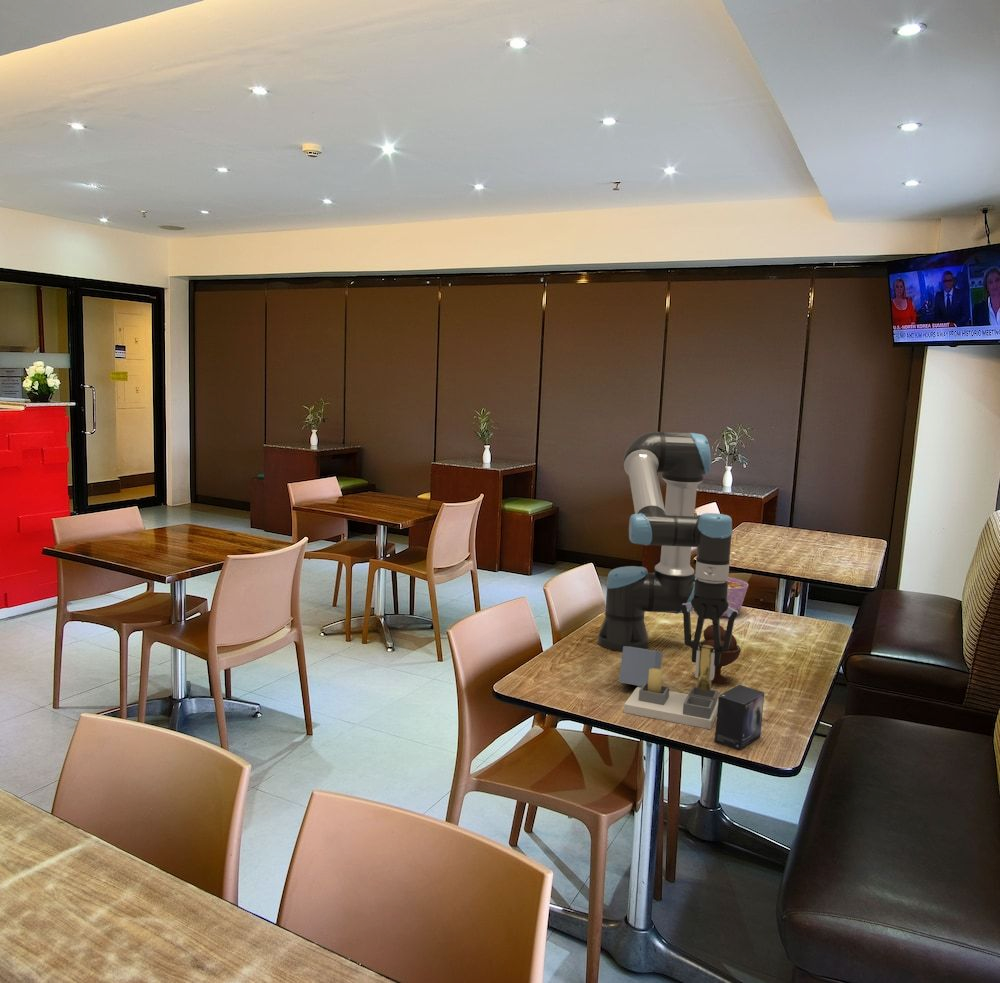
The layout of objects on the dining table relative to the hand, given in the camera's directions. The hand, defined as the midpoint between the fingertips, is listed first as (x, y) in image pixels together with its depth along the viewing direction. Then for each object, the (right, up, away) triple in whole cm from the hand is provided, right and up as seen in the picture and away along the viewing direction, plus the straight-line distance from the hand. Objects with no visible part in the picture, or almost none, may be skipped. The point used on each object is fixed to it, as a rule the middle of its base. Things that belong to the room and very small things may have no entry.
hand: (704, 676), depth 187 cm
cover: (-13, -5, +14) cm, 20 cm away
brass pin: (0, -3, 0) cm, 3 cm away
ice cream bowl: (+9, -6, +22) cm, 25 cm away
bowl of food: (+28, +1, +91) cm, 95 cm away
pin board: (-8, -8, +1) cm, 11 cm away
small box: (+4, -11, -14) cm, 18 cm away
